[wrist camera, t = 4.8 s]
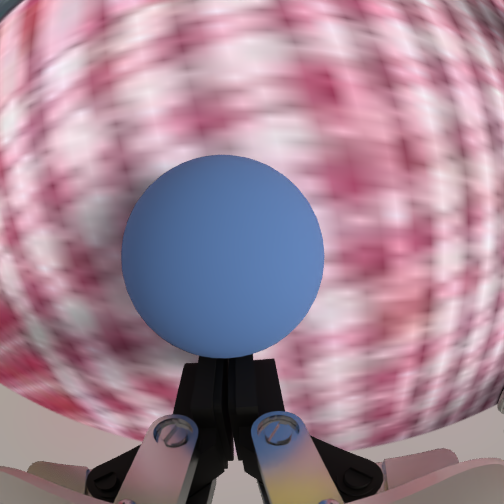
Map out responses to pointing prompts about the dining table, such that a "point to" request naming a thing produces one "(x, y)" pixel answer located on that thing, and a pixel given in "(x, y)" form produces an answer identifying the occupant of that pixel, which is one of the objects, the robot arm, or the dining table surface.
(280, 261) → the ball
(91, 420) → the dining table surface
